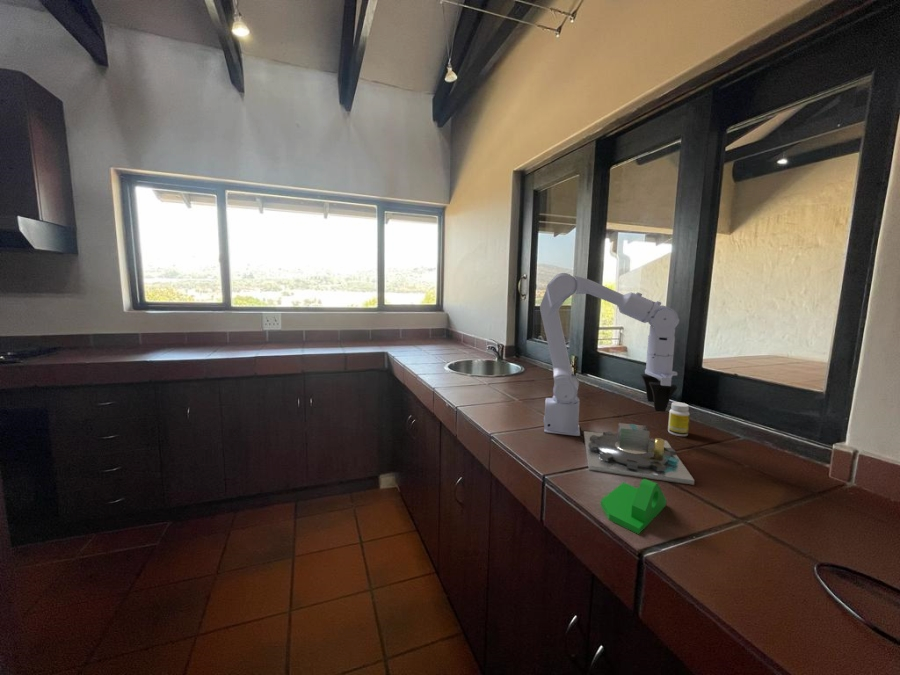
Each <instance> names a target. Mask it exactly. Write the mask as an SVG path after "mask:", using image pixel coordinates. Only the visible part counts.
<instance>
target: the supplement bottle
mask: <svg viewBox="0 0 900 675" xmlns="http://www.w3.org/2000/svg"><path fill="white" fill-rule="evenodd" d="M670 407H671V408H670V409H669V412H668V424H667V431H668V433H669V434H671V435H673V436H676V437H677V436H678V437H687V436H688V435H689V428H690V418H691V417H690V416H691V414H690V412H689V409H690V406H689V404H687V403H685V402H678V401H673V402H671V405H670Z"/></svg>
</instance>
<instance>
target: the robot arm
mask: <svg viewBox="0 0 900 675" xmlns="http://www.w3.org/2000/svg"><path fill="white" fill-rule="evenodd" d="M545 289H546V290H545V291H544V294H543V296H542V299H541V302H540V305H539V310H540V316H541V320H542V324H543V328H544V333H545V336H546V343H547V347H548V351H549V355H550V360H551V365H552V368H553V370H552V372H553V373H552V374H553V375H552V376H553V382H554V384H553V388H552V394H553V396H552V397H545V404H544V416H543V424H544V425H543V428H544V430H543V431H544V433H548V434H549V433H550V434H557V435H558V434H559V435H566V436H574V437H580V436H581V431H580V425H579V417H580V416H579V415H580V414H579V413H580V398H579V397H578V390H579V387H580V382H579V379H578V377H577V376H576V375H575V374H574V370H573V367H572V365H571V361H570V357H569V352H568V348H567V343H566V339H565V335H564V329H563V325H562V321H561V317H560V316H561V315H560V311H559V310H560V308H561V307H562V306H563V304H564V303H565V301H566V300H567V299H569V298H570V297H571V296H573V295H574V294H576V295H587V294H588V295H591V296H593V297H595V298H598V299H601V300H603V301H605V302H608V303H610V304H613V305H615V306H617V307H618V311H619V313H620V314H622V315H625V316H627V317H630V318H632V319H634V320H637V321H638V322H641V323H643V324H646V323H648V324H649V334H648V335H647V336H648V337H647V350H646V365H645V369H644V374H640V376H641V378H642V380H643V383H644V386H645V391H646V399H647V402H649V403H653V406H654V411H655V412H660V413H661V412H663V413H666V410H667V408H668V405H669V402H670V399H671V397H672V396H673V394H674V393H675V392H676V390H677V388H678V386H677V385H675V384H672V380H673V379H672V378H673V377H674V376H678V372H677V371H676V370H675V371H674V370H673V366H674V364H673V363H674V354H675V353H674V352H675V341H676V337H675V333H676V327H677V326H678V325H679V324H680V318H679V315H678V313H677V311H676V310H675V309H673V308H671V307H667V306H666V305H662V302H661V301H658V300H656V301H653V300H651V299H650V298H646V297H644V296H643V293H640V292H638V291H636V293H634V292H628V293H625V294H622V293H620V292H618V291H616V290H613V289H611V288H609V287H606V286H605V285H603V284H601V283H598V282H596V281H594V280H591V279H589V278H584V277H581V276H578V275H577V276H576V275H574V276H573V275H572V274H570V273H567V272H560V273H557V274H555V275H554V276H553V277H552V279H551V280H550V281H549V282H548V283H547V284H546V288H545Z"/></svg>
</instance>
